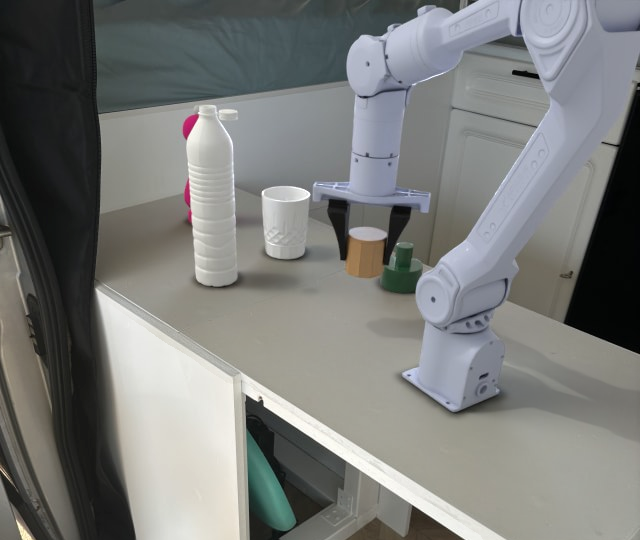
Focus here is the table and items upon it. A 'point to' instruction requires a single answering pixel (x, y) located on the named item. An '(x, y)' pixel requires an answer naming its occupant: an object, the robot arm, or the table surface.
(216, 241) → the water bottle
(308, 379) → the table surface
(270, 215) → the white cup
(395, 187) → the robot arm
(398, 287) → the green stepped peg base
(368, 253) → the wooden drum
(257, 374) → the table surface
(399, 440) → the table surface
